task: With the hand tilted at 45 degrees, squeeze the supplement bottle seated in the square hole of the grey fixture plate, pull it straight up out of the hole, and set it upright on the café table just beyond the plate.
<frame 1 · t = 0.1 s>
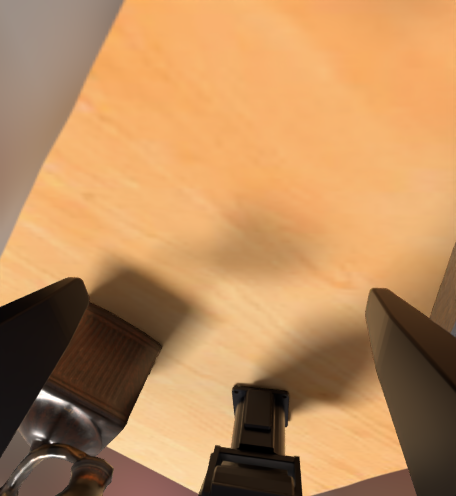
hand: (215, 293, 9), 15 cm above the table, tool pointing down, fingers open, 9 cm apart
brown coffee grinder: (119, 334, 34), on the table
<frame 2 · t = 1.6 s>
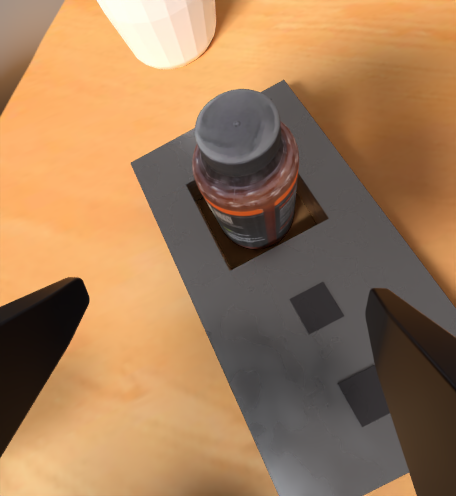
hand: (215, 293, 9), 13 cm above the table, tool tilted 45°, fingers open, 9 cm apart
grey fixture plate: (286, 268, 22), on the table
bottle: (175, 39, 31), on the table
supplement bottle: (256, 216, 24), resting in grey fixture plate
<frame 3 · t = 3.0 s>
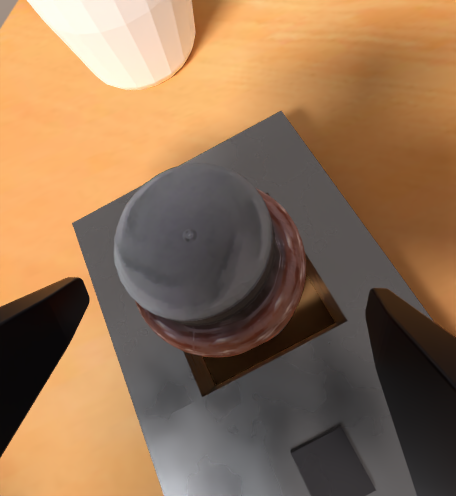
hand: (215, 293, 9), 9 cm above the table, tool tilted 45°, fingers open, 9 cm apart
grey fixture plate: (286, 375, 16), on the table
bottle: (145, 51, 25), on the table
supplement bottle: (244, 294, 18), resting in grey fixture plate
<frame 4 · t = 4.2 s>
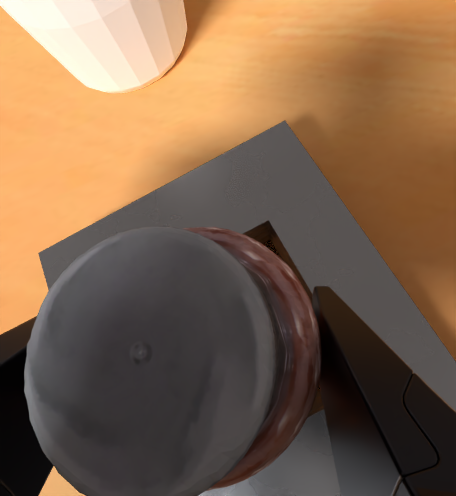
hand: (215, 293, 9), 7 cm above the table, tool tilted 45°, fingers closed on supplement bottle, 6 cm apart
grey fixture plate: (289, 438, 13), on the table
bottle: (131, 49, 22), on the table
supplement bottle: (240, 336, 15), resting in grey fixture plate, touching gripper
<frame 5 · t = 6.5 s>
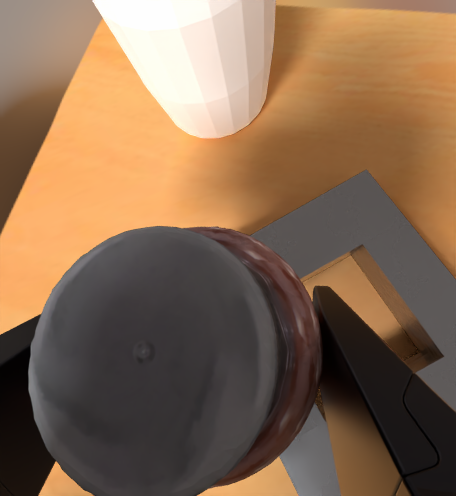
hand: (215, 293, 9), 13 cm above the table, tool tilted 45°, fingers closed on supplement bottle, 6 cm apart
grey fixture plate: (380, 397, 19), on the table
bottle: (217, 100, 27), on the table
supplement bottle: (241, 335, 15), point 6 cm above the table, touching gripper
when the fingers open (8 cm above the table, at t = 8.8 s): supplement bottle drops 1 cm, on the table.
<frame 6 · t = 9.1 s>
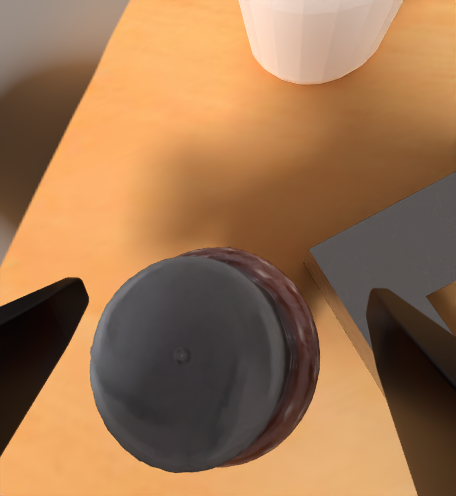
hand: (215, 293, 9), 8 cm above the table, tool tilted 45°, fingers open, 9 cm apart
bottle: (312, 39, 21), on the table
supplement bottle: (246, 338, 16), on the table
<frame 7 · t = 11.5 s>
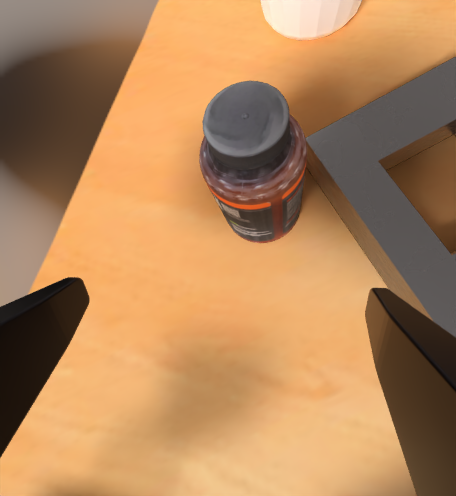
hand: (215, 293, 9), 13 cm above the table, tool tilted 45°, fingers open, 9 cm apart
bottle: (310, 8, 28), on the table
supplement bottle: (262, 210, 24), on the table
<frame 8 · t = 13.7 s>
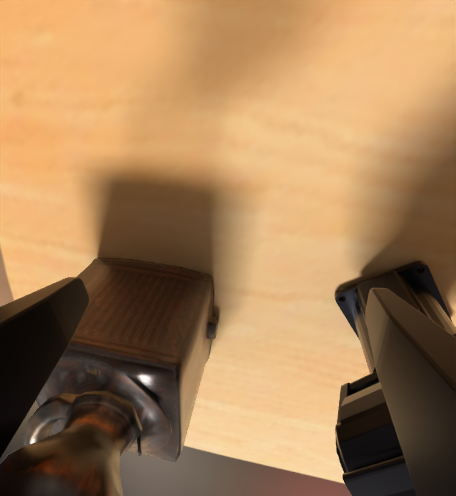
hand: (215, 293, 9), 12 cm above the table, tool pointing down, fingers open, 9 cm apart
brown coffee grinder: (158, 288, 26), on the table
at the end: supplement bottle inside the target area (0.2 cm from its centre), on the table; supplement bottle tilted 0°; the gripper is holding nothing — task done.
